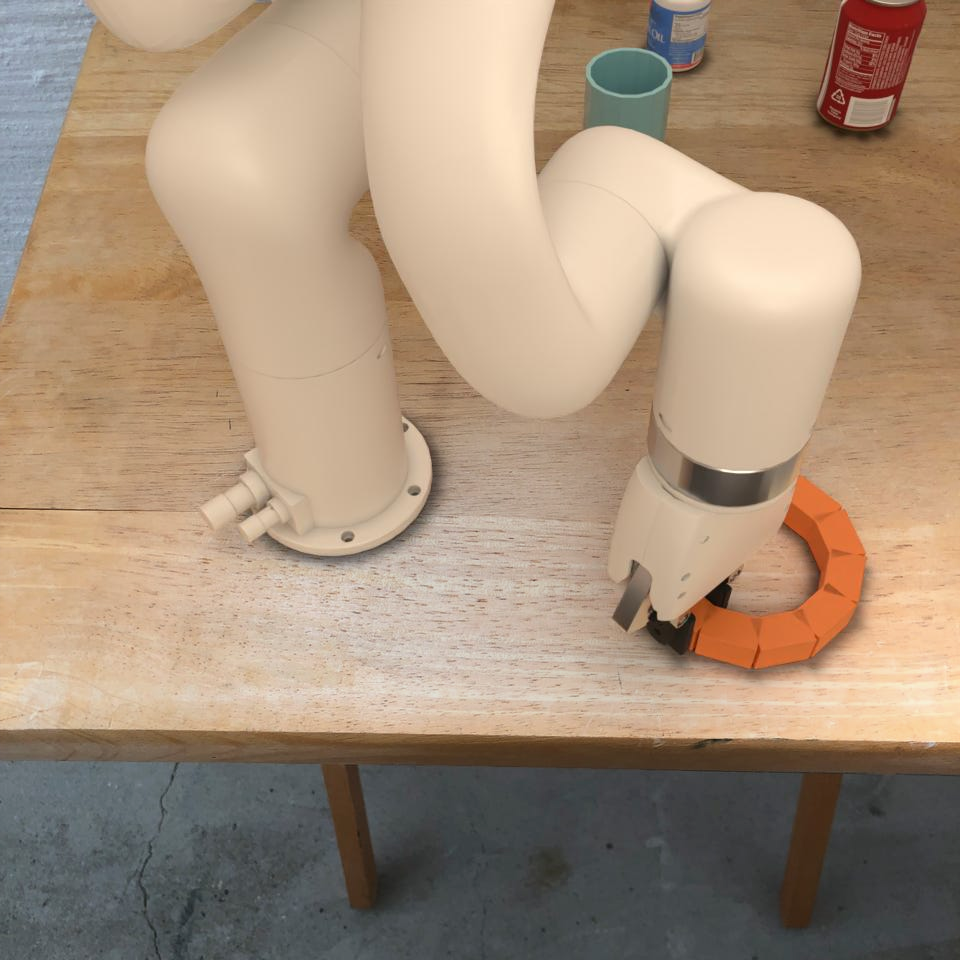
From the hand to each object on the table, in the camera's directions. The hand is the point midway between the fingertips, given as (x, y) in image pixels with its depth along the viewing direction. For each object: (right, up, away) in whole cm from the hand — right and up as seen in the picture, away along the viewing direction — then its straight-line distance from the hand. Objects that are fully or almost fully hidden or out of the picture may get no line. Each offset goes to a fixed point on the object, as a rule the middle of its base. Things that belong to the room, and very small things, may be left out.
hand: (683, 620), depth 68 cm
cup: (0, +36, +27) cm, 44 cm away
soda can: (+21, +41, +30) cm, 55 cm away
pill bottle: (+6, +48, +36) cm, 61 cm away
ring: (+4, +3, +2) cm, 6 cm away
